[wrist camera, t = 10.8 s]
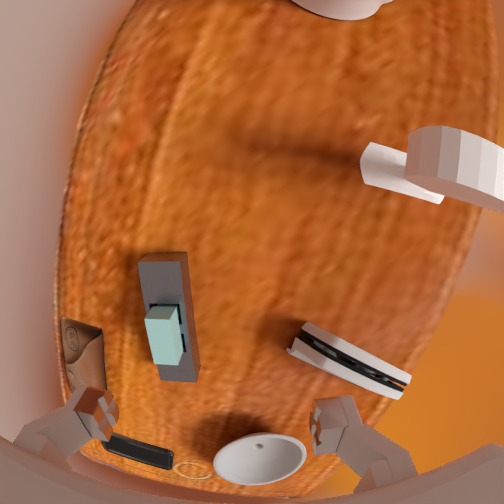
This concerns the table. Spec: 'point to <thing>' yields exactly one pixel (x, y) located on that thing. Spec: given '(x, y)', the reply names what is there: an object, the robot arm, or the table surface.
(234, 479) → the dish
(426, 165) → the heart sculpture
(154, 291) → the grey rectangular block
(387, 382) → the napkin holder
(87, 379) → the sunglasses case
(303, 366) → the table surface
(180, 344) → the pale teal plug block
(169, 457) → the phone
